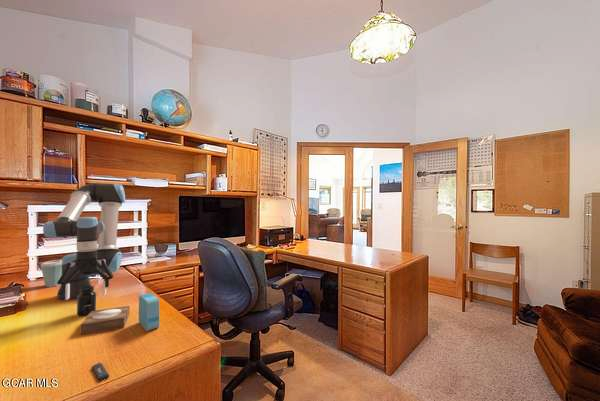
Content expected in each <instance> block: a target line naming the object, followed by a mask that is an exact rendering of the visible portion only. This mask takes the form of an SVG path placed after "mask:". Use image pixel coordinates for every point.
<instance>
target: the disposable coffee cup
mask: <svg viewBox="0 0 600 401" xmlns="http://www.w3.org/2000/svg"><path fill="white" fill-rule="evenodd" d="M61 264H62V259H53V260H48V261H45V262H43V263H41V264H40V268H41V273H42V278H43V282H44V286H45V287H46V288H51V287H57V286H60V284H57V282H58V280H59V279H60V277H61V276H62V265H61Z"/></svg>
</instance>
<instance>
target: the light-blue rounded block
mask: <svg viewBox="0 0 600 401" xmlns="http://www.w3.org/2000/svg"><path fill="white" fill-rule="evenodd" d="M138 322H139V325H141V327H142V328H143V329H144V330H145V331H146V332H148V331H151V330H154V329H157V328H159V327H160V300H159V298H158V297H157V296H156V295H154V294H153V292H148V293H144V294H140V295H139V296H138Z"/></svg>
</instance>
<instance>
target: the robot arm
mask: <svg viewBox="0 0 600 401" xmlns="http://www.w3.org/2000/svg"><path fill="white" fill-rule="evenodd" d="M125 202H126V193H125V189H124V186H123V185H122V184H121V183H120V184H119V183H95V182H94V183H92V182H91V183H87V184H84V185H81V186H80V187H78V188H76V189H74V191H72V192H71V194H70V196H69V201H68V203H66V205H65V207H64V208H63V209H62V211H61V212H60V213H59V215H58V216H57V217H56V219H55V220H51V221H47V222H45V223H44V224H43V228H42V233H43V235H44V236H45V237H46V238H64V237H65V238H67V237H68V238H69V237H76V252H75V253H69V254H67V255H64V256H63V257H62V258H61V260H62V264H61V265H62V274H61V277H60V279H59V280H58V282H57V284H59V288H58V291H57V293H56V299H57V300H60V301H67V300H73V299H76V300H77V297H78V295H79V294H81V293H80V289H81V288H82V287H86V286H93V285H92V283H91V280H90V276H92V275H93V276H94V275H99V277H101V278H102V279H103V281H102V296H105V295H106V294H107V288H109V286H110V280H111V279H113V278H114V277H115V276H114V274H113V273H116V272H117V271H119V269H120V267H121V265H122V260H123V259H122V258H123V254H122V252H121V251H120V249H119V247H118V246H117V238H118V222H119V210H120V208H121V207H122V206H123V203H125ZM91 203H92V204H93V203H98V204H97V205H98V206H99V207H100V209H101V210H100V217H99V218H100V219H99V220H98V217H96V216H83V217H82V216H81V214H82V213H83V211H84V210H85V208H86V206H88V205H90V204H91ZM80 216H81V217H80Z"/></svg>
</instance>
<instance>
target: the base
mask: <svg viewBox="0 0 600 401" xmlns="http://www.w3.org/2000/svg"><path fill="white" fill-rule="evenodd" d="M129 316H130V305H126V306H119V307H112V308H106V309H105V308H104V309H98V310H97V309H96V311H91V312H90V313H89V315H87V316H86V317H85V318H84V320H83V321H82V323H81V324H80V336H83V335H90V334H95V333H100V332H107V331H111V330H112V331H113V330H117V329H124V328H125V326H126V323H127V321H128V319H129Z"/></svg>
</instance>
